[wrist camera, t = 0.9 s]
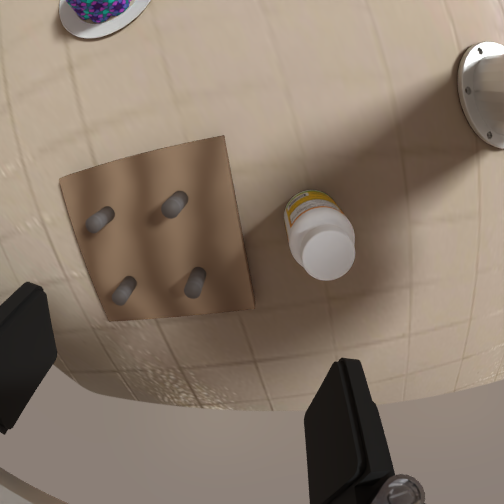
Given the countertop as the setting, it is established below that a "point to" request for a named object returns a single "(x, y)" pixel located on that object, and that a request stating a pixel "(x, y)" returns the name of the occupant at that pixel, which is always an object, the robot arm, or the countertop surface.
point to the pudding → (98, 15)
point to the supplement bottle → (319, 235)
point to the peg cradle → (162, 232)
